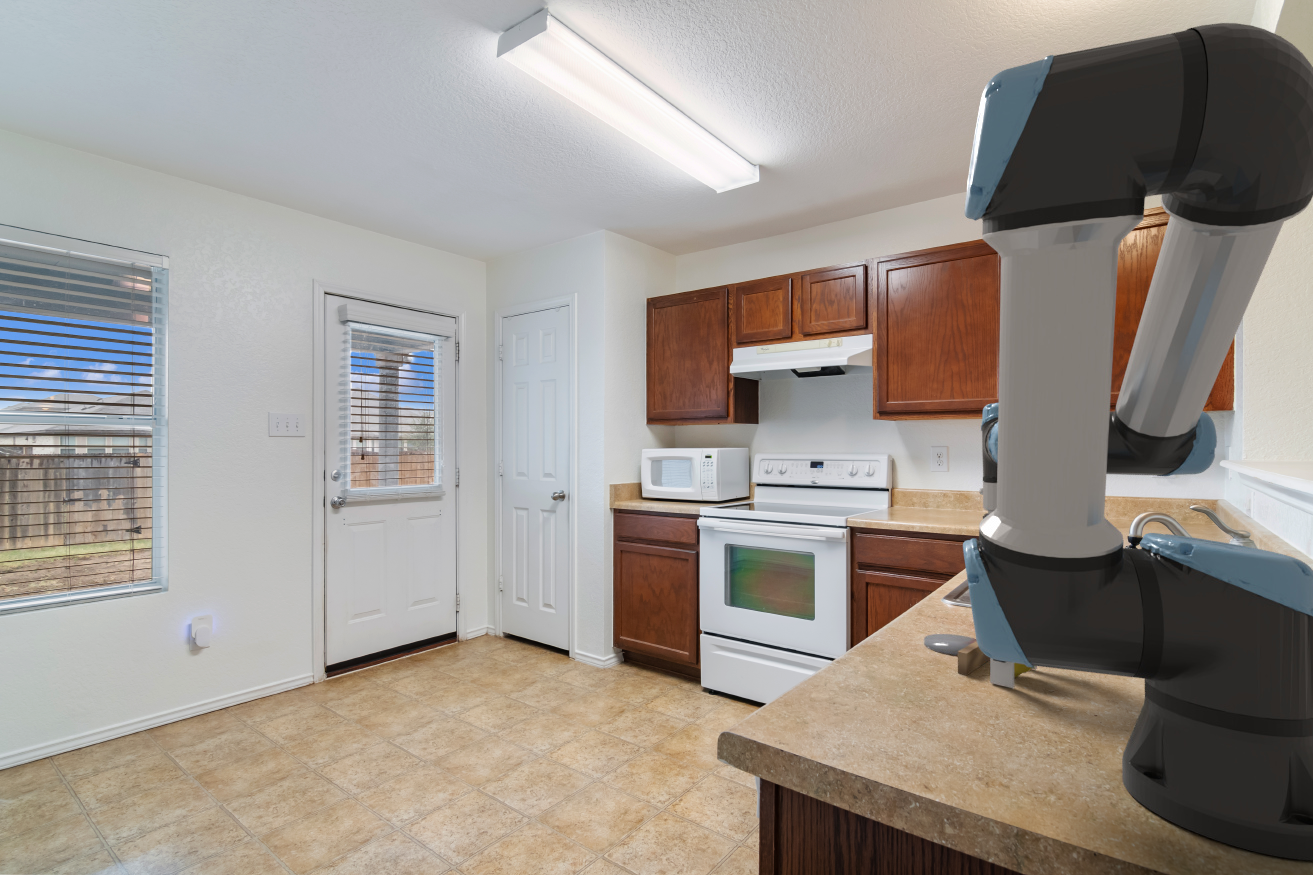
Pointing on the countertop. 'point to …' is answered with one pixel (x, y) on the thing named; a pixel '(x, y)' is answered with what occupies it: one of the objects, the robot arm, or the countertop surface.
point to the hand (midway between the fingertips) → (1014, 675)
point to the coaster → (947, 643)
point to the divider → (971, 658)
